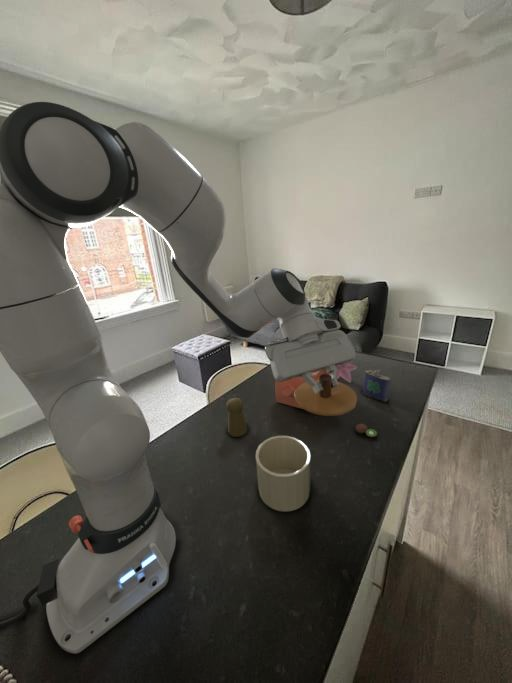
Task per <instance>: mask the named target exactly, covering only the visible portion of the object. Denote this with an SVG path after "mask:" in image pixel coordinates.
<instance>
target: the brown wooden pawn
mask: <svg viewBox="0 0 512 683" xmlns="http://www.w3.org/2000/svg"><path fill="white" fill-rule="evenodd" d="M225 405H226V406H225V407H226V410H227V412H228V421H227V424H228V426H227V432H228V434H229V436H232V437H242V436H244V435H245V434H247V431H248V427H247V423H246V418H245V416H244V412H243V409H244V402H243V400H242V399H241V398H239V397H234V398H230V399H229V400H227V402H226V404H225Z"/></svg>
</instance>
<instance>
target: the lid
mask: <svg viewBox="0 0 512 683" xmlns="http://www.w3.org/2000/svg"><path fill="white" fill-rule="evenodd" d="M315 381H316V382H317V383H320V382H321V384H322V387H323V391H322V392H319V393H316V394H315V393H314V391H313V388H312V386H310V385H309V384H308V383H306V382H305V383H303V384H301V385H300V386H299V387H298V388H297V389H296V391H295V401H296V402H297V404H298V405H299V406H300V407H301V408H303V409H302V410H304V411H306V412H308V413H310V414H314V415H318V416H325V417H335V416H342V415H345V414H347V413H349V412H351V411H352V410H353V409H355V408H356V406H357V403H358V395H357V394H356V391H355V390H354V389H353V388H352V387H351V386H348V384H345V383H343V382H340V381H338V384H339V385H338V386H337V387H335V388H331V387H332V377H331V376H330V375H328V374H322V375H320V377H319V380H315ZM301 408H300V409H301Z"/></svg>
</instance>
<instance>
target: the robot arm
mask: <svg viewBox="0 0 512 683" xmlns="http://www.w3.org/2000/svg"><path fill="white" fill-rule="evenodd" d="M119 208H121V209H124V210H126V211H128V212H131V213H132V214H134V215H135V216H137V217H139V218H140V219H141V220H142V221H143V222H144V223H146V224H147V225H148V226H149V227H150V228H152V230H154V232H156V233H158V235H159V236H160V237H161V238H163V239H164V241H165V242H166V244H167V245H168V247H169V249H170V250H171V255H170V262H171V264H172V266H173V267H174V269H175V271H176V273H177V275H179V276H180V278H181V279H182V280H183V281H184V283H186V285H187V286H188V287H189V288H190V289H191V290H192V292H194V293H195V294H196V295H197V296H198V298H200V299H201V300H202V302H204V304H206V306H208V308H209V309H210V310H211V311H212V312H213V313H214V314H215V315H216V316H217V318H218V319H219V320H220V321H221V323H222V324H223V325H224V327H225V328H226V330H227V331H228V332H229V333H230V334H231V335H233V336H236V337H239V338H245V339H248V338H250V337H252V336H254V335H255V334H256V333H258V332H259V331H260V330H261V329H263V328H264V327H266V326H268V325H270V324H271V323H272V322H274V321H276V320H277V321H278V324H279V330H280V332H281V334H282V337H283V338H280V339H276V340H271V341H269V342H268V343H267V344H266V345H265V347H264V351H265V356H266V357H267V359H268V360H269V364H270V367H271V371H272V375H273V378H274V380H275V381H276V380H277V381H278V382H283V381H287V380H290V379H294V378H297V377H300V376H302V377H303V379H304V381H305V382H306V383H308V384H309V385H310V386H312V388H313V391H314V393H315V394H316V393H319V392H322V391H323V387H322V384H321V382H320V383H317V382H316V381H315V380H314V379H313V378H312V376H313V374H312V373H314V372H318V371H321V370H324V369H326V371H327V373H330V376H331V377H332V387H331V388H335V387H337V386H338V385H339V384H338V382H339V381H338V379H336V374H337V368H336V366H338V365H341V364H345V363H348V362H350V363H351V362H352V361H353V360H354V359H355V358H356V349H355V348H354V346H353V344H352V342H351V340H350V339H349V337H348V335H347V334H346V333H345V332H344V331H343V330H341V324H340V321H338V320H337V319H329V318H322V317H317V316H316V314H315V312H314V311H313V310H312V309H311V308H310V304H309V300H308V297H307V294H306V291H305V289H304V287H303V285H302V283H301V282H300V279H299V278H298V277H297V276H296V275H295V273H293V272H291V271H289V270H287V269H282V268H272V269H270V270H267V271H266V272H265V273H264V274H262V275H260V276H259V277H257V278H256V279H255V280H253V282H251V283H250V284H248V285H246V286H245V287H244V288H242V289H241V290H239V291H237V292H235V293H228V291H227V290H226V289H225V288H224V287H223V285H221V283H220V282H219V281H218V280H217V278H216V277H215V276H214V275H213V273H212V272H211V271H210V266H211V263H212V261H213V259H214V257H215V256H216V254H217V252H218V250H219V249H220V246H221V244H222V242H223V239H224V236H225V232H226V225H227V213H226V209H225V205H224V203H223V201H222V199H221V198H220V196H219V195H218V193H217V191H216V190H215V189H214V188H213V187H212V185H211V184H210V183H209V181H207V179H206V178H205V177H204V176H203V175H202V173H201V172H200V171H199V170H198V169H197V168H196V167H195V165H193V164H192V163H191V162H190V161H189V160H188V159H187V157H185V156H184V154H182V153H181V152H180V151H179V150H178V149H177V148H176V147H175V146H174V145H172V144H171V143H170V142H169V141H168V140H166V139H165V138H164V137H163V136H162V135H160V134H159V133H158V132H157V131H155V129H153V128H151V127H150V126H149V125H148V124H145V123H143V122H139V121H129V122H126V123H123V124H121V125H119V126H118V127H116V128H113V127H111V126H109V125H106V124H103V123H101V122H98V121H96V120H93V119H92V118H90V117H89V116H87V115H85V114H83V113H81V112H79V111H77V110H75V109H73V108H71V107H68V106H65V105H62V104H59V103H55V102H50V101H34V102H33V101H32V102H30V103H26V104H23V105H20V106H19V107H17V108H15V109H14V110H13V111H12V112H10V113H9V115H7V117H6V118H5V119H4V121H3V122H2V124H1V126H0V353H1V355H2V357H3V359H4V360H5V362H6V363H7V365H8V366H9V368H10V369H11V370H12V371H13V372H14V373H15V375H16V376H17V377H18V378H19V380H20V381H21V383H22V384H23V385H24V386H25V388H26V389H27V391H28V392H29V393H30V395H31V396H32V398H33V399H34V401H35V402H36V404H37V405H38V407H39V408H40V410H41V412H42V414H43V416H44V418H45V420H46V422H47V425H48V427H49V430H50V433H51V435H52V438H53V441H54V444H55V446H56V450H57V452H58V454H59V457H60V459H61V462H62V463H63V465H64V468H65V470H66V472H67V474H68V477H69V479H70V481H71V483H72V485H73V487H74V490H75V491H76V494H77V496H78V498H79V501H80V503H81V506H82V508H83V511H84V513H85V519H84V520H83V518H82V516H81V515H74V516H72V517H71V519H70V520H69V522H68V527H69V528H70V529H71V532H72V533H73V534H77V536H78V538H77V539H76V540H75V542H74V543H73V545H72V546H71V548H70V549H69V550H68V551H67V553H66V554H65V555H64V556H63V558H62V559H61V558H60V557H58V558H56V559H54V560H51V561H49V562H46V563H44V564H42V569H41V573H40V578H39V582H38V584H37V585H36V586H34V587H33V588H31V589H30V590H29V591H28V592H27V593H26V594H25V596H24V597H23V600H22V606H23V607H24V609H23V610H22V611H21V612H20V613H18V614H17V615H16V616H13V617H12V618H8V619H6V620H3V621H1V622H0V629H1V628H3V627H5V626H8V625H9V624H11V623H14V622H16V621H18V620H20V619H22V618H24V617H25V616H27V614H28V613H29V612H30V610H31V608H32V605H31V602H30V600H29V599H30V598H31V597H32V596H33V595H35V594H36V597H37V599H38V600H39V602H40V604H41V606H45V609H46V610H45V612H46V617H47V622H48V626H49V629H50V632H51V634H52V637H53V639H54V640H55V641H56V642H55V643H57V645H58V646H59V647H60V648H61V649H62V650H64V651H66V652H67V653H70V654H74V655H76V654H79V653H81V652H83V651H84V650H85V649H86V648H88V647H89V646H90V645H92V644H93V643H94V642H96V641H97V640H98V639H99V638H101V637H102V636H103V635H104V634H106V633H107V632H109V631H110V630H111V629H113V627H115V626H116V625H118V624H119V623H120V622H121V621H123V620H124V619H125V618H126V617H127V616H129V615H130V614H132V613H133V612H134V611H135V610H137V609H138V608H139V607H141V606H142V605H143V604H144V603H146V602H147V601H148V600H150V599H151V598H152V597H153V596H154V595H156V594H157V593H159V592H160V591H161V590H162V589H164V588H165V587H166V586H167V584H168V582H169V579H170V578H169V577H170V564H171V560H172V558H173V556H174V553H175V549H176V543H177V535H176V534H177V533H176V531H175V527H173V525H172V523H171V522H170V521H169V520H168V519H167V517H166V516H165V514H164V512H163V510H162V503H161V500H160V499H161V497H160V494H159V490H158V487H157V486H156V484H155V482H153V480H152V477H151V472H150V469H149V465H148V462H147V458H146V457H147V456H146V453H147V451H148V448H149V445H150V441H151V440H150V439H151V433H150V428H149V426H148V422H147V420H146V417H145V415H144V413H143V410H142V408H141V407H140V406H139V404H137V402H136V401H135V400H134V399H133V398H132V397H131V396H130V395H129V394H128V393H127V391H125V390H124V389H123V388H122V386H121V385H120V383H119V382H118V381H117V380H116V378H115V377H114V374H113V372H112V371H111V368H110V365H109V363H108V360H107V356H106V352H105V349H104V345H103V337H102V334H101V331H100V329H99V327H98V324H97V322H96V319H95V317H94V315H93V313H92V310H91V308H90V306H89V303H88V301H87V299H86V297H85V294H84V292H83V289H82V287H81V285H80V283H79V280H78V279H77V276H76V274H75V272H74V270H73V268H72V265H71V262H70V260H69V257H68V253H67V248H66V238H67V235H68V233H69V231H70V230H72V229H74V228H83V227H86V226H89V225H92V224H94V223H96V222H98V221H99V220H102V219H104V218H106V217H108V216H109V215H111V214H112V213H114V212H115V211H116V210H117V209H119ZM154 584H155V585H154Z"/></svg>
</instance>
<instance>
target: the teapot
mask: <svg viewBox="0 0 512 683" xmlns="http://www.w3.org/2000/svg"><path fill="white" fill-rule="evenodd" d="M312 374H313V376H312V378H313V379H314V380H319V377H320V375H322V374H328V375H330V373H327V371H326V369H324V370H321V371H318V372H314V373H312ZM336 377H337V374H336ZM303 383H305V381H304V379H303V377H302V376H300V377H297V378H294V379H290V380H287V381H283V382H278V381H277V380H275V383H274V384H275V386H274V387H275V389H274V390H275V400H276V402H277V403H279V404H283V405H287V406H290V407H294V408H298V409H301V410H304V409H303V408H301V407H300V406H299V405H298V404H297V402H296V401H295V391H296V389H297V388H298V387H299V386H300V385H301V384H303Z"/></svg>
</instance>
